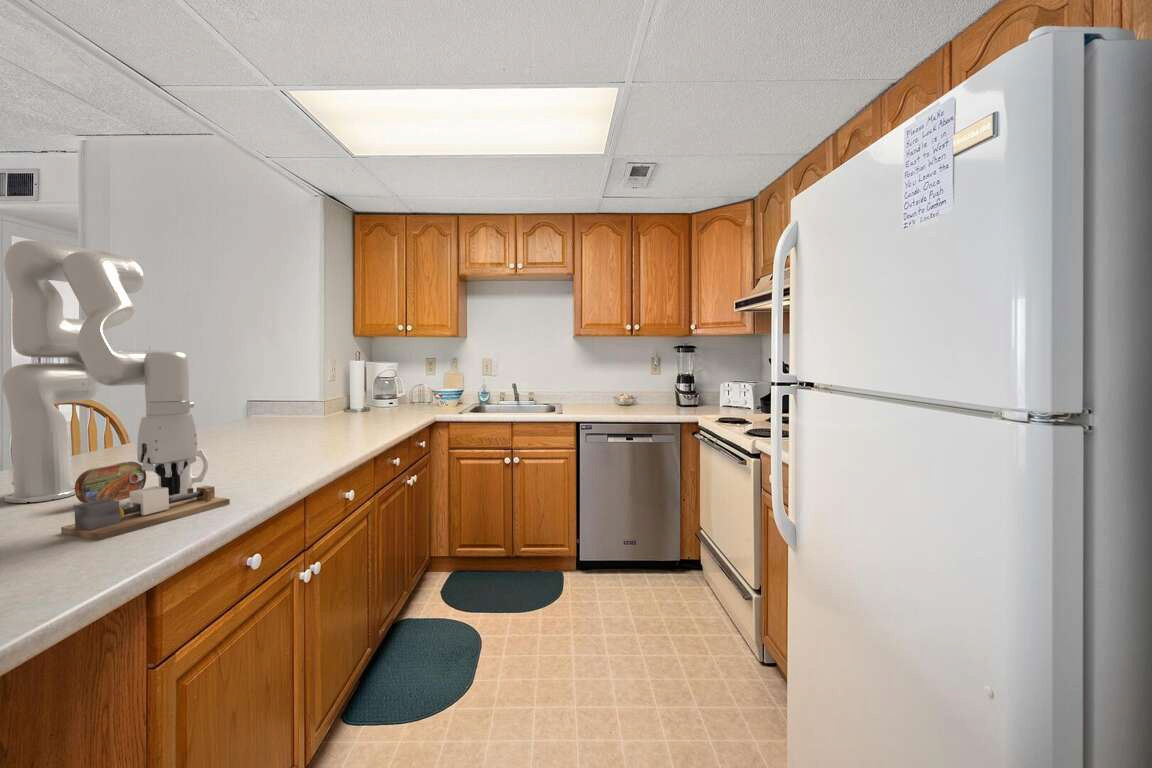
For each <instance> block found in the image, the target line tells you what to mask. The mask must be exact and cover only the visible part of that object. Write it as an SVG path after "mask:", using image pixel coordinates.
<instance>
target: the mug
mask: <svg viewBox="0 0 1152 768" xmlns="http://www.w3.org/2000/svg"><path fill="white" fill-rule="evenodd" d="M195 457H199V458H200V459H201V461H202V465H203V466H202V470H201V473H200V474H199V475H197V476H193V474H192V473H193V472H192V471H193V470H192V464H193V463H192V464H190V465H187V466H186V468H185V469H184V470H183V474H182V475H180V493H179V494H175V495H169V498H172V497H177V496H181V495H185V494H187V489H188V488H193V487H192V486H193V484H195V483H202V482H203V481H204V479H205V477H206V474H207V473H208V469H209V460H208V458H207V456H206V454H205V451H204V450H203V448H202V449H201V448H200V449H198V451H197V455H196V456H195ZM157 476H158V475H157ZM158 487H161V477H160V476H158Z"/></svg>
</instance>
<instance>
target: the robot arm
mask: <svg viewBox="0 0 1152 768" xmlns="http://www.w3.org/2000/svg"><path fill="white" fill-rule="evenodd" d="M3 263H4V264H3V265H4V266H3V267H4V272H5V276H6V279H7V283H8V285H9V289H10V292H11V335H12V337H11V338H12V340H11V341H12V345H13V348H14V350H15V352H16V353H17V354H19V355H20V356H23V357H29V358H44V359H45V358H53V359H54V358H58V359H59V358H67V362H61V363H60V362H41V363H40V362H35V363H34V362H33V363H25V364H24V363H23V364H22V363H21V364H18V365H15V366H13V367H11V368H9V369H8V370H6V372H5V373H4V374H3V376H2V388H3V392H4V396H5V399H6V403H7V407H8V412H9V419H10V420H9V421H10V437H11V452H12V454H11V455H12V457H11V458H12V471H13V473H12V474H13V481H11V485H12V486H13V492H11V493H8V494H6V495H5V496H4V501H5V502H6V503H9V502H10V504H27V502H30V503H40V502H46V501H54V500H59V499H64V498H67V497H71V496H74V495H76V493H75V485H71V482H70V478H71V477H70V459H69V458H70V457H69V454H70V453H69V438H68V437H69V436H68V435H69V434H68V423H67V422H68V421H67V419H66V417H65V415H64V414H63V413H62V412H61V411H60V410H59V409H58V408H57V406H56V405H55V404H59V403H70V402H83V401H89V400H91V399H93V398H94V397H96V396H97V395H98V394H99V392H100V390H101V385H104V386H108V387H120V386H135V385H136V386H143V385H144V395H145V396H144V397H145V399H144V400H145V416H142V417H141V419H140V423H139V429H138V434H137V449H136V450H137V452H136V453H137V455H136V456H137V461H138V462H137V463H139V464H141V466H142V470H143V471H145V472H154V473H155V474H156V475H157V476H160V477H161V487H166V488H168V493H169V495H175V494H179V493H180V475H182V474H183V470H184V469H185V468H186V466H187V465H190V464H194V463H196V462H197V458H196V457H197V456H196V455H197V451H198V450H199V448H198V435H197V428H196V424H195V419H194V416H193V414H192V413H191V410H190V409H193V408H194V407H195V404H194V402H193V401H190V381H189V380H190V379H189V360H188V356H187V355H186V353H184V352H182V351H161V350H150V349H148V350H145V349H143V350H142V349H141V350H140V349H112V348H111V347H110V344H109V343H108V341H107V339H106V337H105V334H104V331H105V330H108V329H111V328H114V327H117V326H120V325H121V324H124V323H125V322H127V321H129V320H130V319H131V318H132V317H133V316H134V314H135V311H136V309H135V305H134V303H133V302H132V300H131V299H130V297H129V294H136V293H137V292H139V291H140V290H141V289H143V286H144V283H145V275H144V271H143V270H142V268H141V266H140V265H139V264H138V263H137V261H135V260H133V259H131V258H130V257H126V256H121V255H117V254H113V253H110V252H106V251H102V250H97V249H91V248H86V247H80V246H74V245H67V244H63V243H57V242H51V241H44V240H22V241H21V240H20V241H17V242H15V243H13V244H11V245H10V246H9V248H8V249H7V251H6V254H5V256H4V261H3ZM50 281H55V282H63V283H68V284H69V286H70V288H71V289H72V292H73V294H74V296H75V298H76V300H77V301H78V303H79V305H80V307H81V309H82V310H83V312H84V314H85V315H86V319H80V318H66V317H64V300H63V297H62V295H61V293H60V292H59V290H58V289H57V288H56V286H55V285H53V284H52V283H51V282H50ZM53 499H54V500H53Z"/></svg>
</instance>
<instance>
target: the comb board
mask: <svg viewBox="0 0 1152 768" xmlns="http://www.w3.org/2000/svg"><path fill="white" fill-rule="evenodd" d="M230 502H231V501H230V498H225V497H217V496H216V497H215V486H214V485H213V486H212V485H201V486H198V487H197V486H196V491H194V487H192V488H188V489H187V494H185V495H181V496H177V497H172V498H169V509H167V510H163V511H159V512H155V513H151V514H147V515H141V512H139V511H141V505H139V506H135V507H131V508H130V507H127V508H124V509H123V508H122V507H121V506H120V500H117V501H116V500H109V499H101V500H97V501H92V502H88V503H79V504H74V505H73V506H74V507H73V508H74V511H73V512H74V523H72V524H68V525H64V526H61V527H60V532H61V534H62V533H63V534H64V535H69V536H74V537H80V538H86V539H92V540H97V541H101V540H105V539H109V538H112V537H116V536H120V535H122V534H126V533H130V532H134V531H138V530H141V528H142V529H145V528H148V526H149V527H152V526H155V524H156V525H159V524H158V523H160V524H163V523H166V521H167V522H170V521H174V520H176V519H180V518H181V519H182V518H185V517H189V516H191V515H196V514H198V513H199V514H200V513H203V512H207V511H209V510H213V508H214V509H218V508H221V507H224V505H225V506H228V505H230V504H231V503H230ZM217 507H218V508H217ZM135 512H138V513H135ZM132 513H134V514H132ZM188 515H189V516H188ZM162 522H163V523H162ZM151 525H152V526H151ZM144 527H145V528H144ZM63 534H62V535H63Z"/></svg>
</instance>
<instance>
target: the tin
mask: <svg viewBox="0 0 1152 768" xmlns="http://www.w3.org/2000/svg"><path fill="white" fill-rule="evenodd" d="M146 472H147V471H143V470H142V464H141V463H140V462H137V461H127V462H126V461H123V462H118V463H113V464H109V465H104V466H99V467H96V468H91V469H88V470H85V471H83V472H82V473H81V474H80V475H79V476H78V477H77V478H76V481H75V483H74V486H75V493H76V494H75V496H76V499H78V500H79V502H81V504H83V503H88V502H92V501H97V500H101V499H109V500H117V501H120V499H121V500H124V499H128V498H130V491H135V490H140V489H144V488H145V485H146V481H147V473H146ZM127 497H128V498H127Z"/></svg>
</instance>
